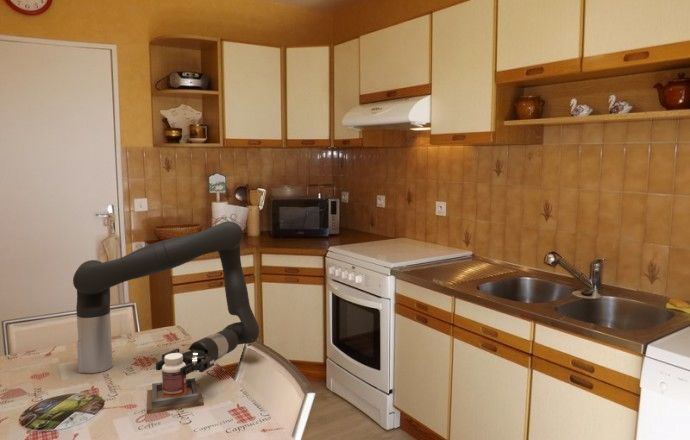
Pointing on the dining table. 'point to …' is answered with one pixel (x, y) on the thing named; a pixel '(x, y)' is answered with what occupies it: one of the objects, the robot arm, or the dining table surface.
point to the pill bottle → (173, 376)
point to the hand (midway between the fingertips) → (168, 369)
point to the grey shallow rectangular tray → (174, 398)
